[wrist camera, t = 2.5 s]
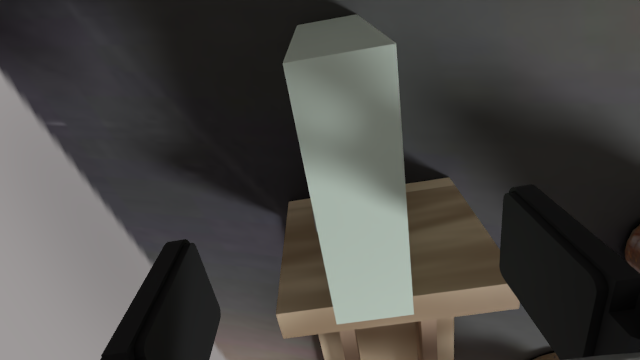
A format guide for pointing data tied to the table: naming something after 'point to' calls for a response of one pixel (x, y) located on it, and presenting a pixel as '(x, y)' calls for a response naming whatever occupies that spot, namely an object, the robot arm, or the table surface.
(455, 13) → the table surface
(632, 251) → the sauce bottle
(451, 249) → the track
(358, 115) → the rectangular block
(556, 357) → the candle holder
